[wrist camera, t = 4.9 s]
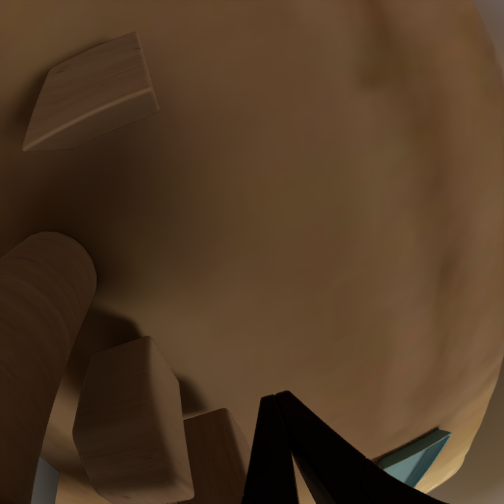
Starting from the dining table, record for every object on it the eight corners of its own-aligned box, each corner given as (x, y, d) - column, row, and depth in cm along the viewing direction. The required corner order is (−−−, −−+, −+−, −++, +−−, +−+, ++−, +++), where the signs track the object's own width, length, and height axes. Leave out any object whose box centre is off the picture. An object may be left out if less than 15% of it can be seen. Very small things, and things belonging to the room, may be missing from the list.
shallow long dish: (373, 456, 23) (383, 474, 20) (444, 419, 24) (455, 433, 21) (347, 515, 33) (352, 525, 31) (396, 494, 34) (401, 504, 32)
